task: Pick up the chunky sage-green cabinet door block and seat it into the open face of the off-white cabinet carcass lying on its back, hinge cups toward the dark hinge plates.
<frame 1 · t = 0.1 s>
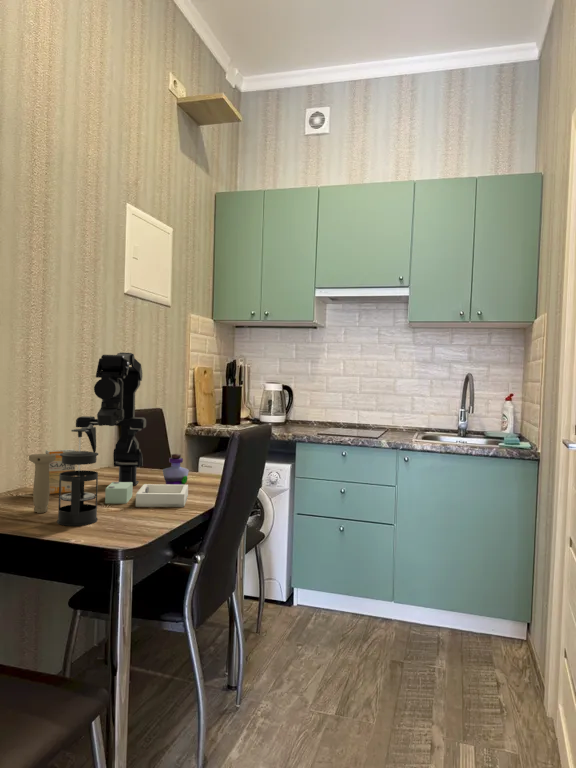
hand: (110, 452, 159), 14 cm above the table, tool pointing down, fingers open, 9 cm apart
french press: (77, 522, 137), on the table
cabinet carcass: (163, 501, 162), on the table
potion bottle: (175, 491, 178), on the table
supplement box: (59, 492, 171), on the table
door panel: (119, 500, 163), on the table
handle: (40, 512, 145), on the table
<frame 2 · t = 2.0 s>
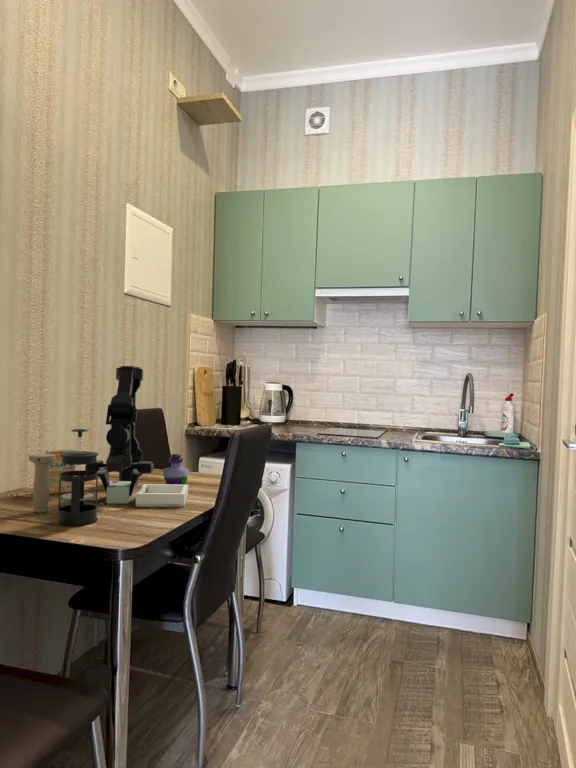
hand: (119, 496, 163), 1 cm above the table, tool pointing down, fingers closed on door panel, 6 cm apart
door panel: (119, 499, 163), on the table, touching gripper
everything else where it was.
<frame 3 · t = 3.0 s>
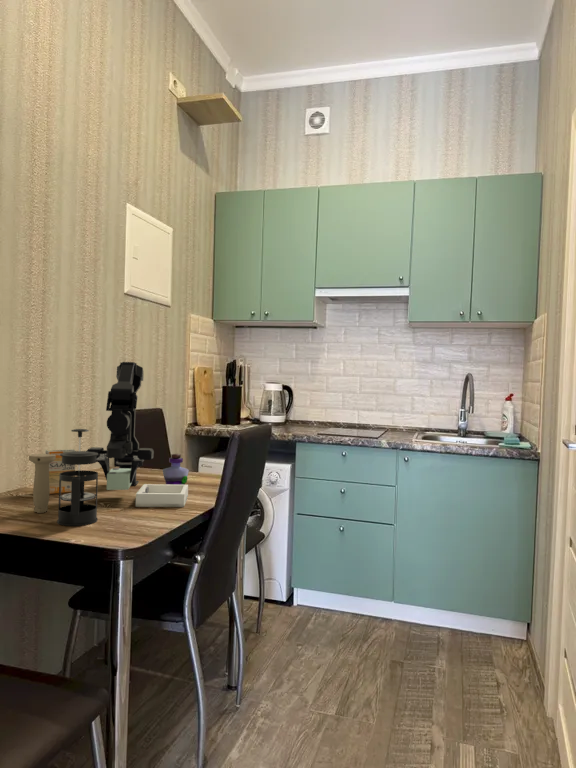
hand: (119, 482, 163), 5 cm above the table, tool pointing down, fingers closed on door panel, 6 cm apart
door panel: (119, 486, 163), point 4 cm above the table, touching gripper
everything else where it was.
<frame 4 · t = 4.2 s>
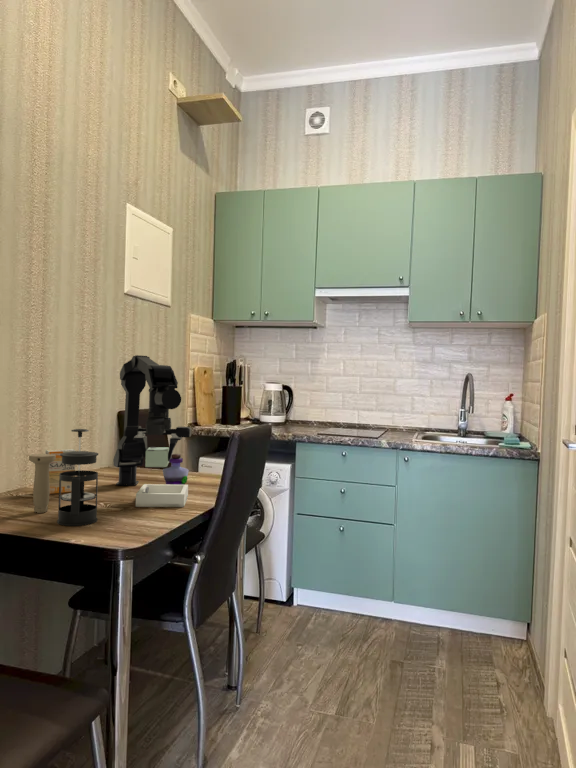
hand: (157, 461, 162), 12 cm above the table, tool pointing down, fingers closed on door panel, 6 cm apart
door panel: (157, 464, 162), point 11 cm above the table, touching gripper
everything else where it was.
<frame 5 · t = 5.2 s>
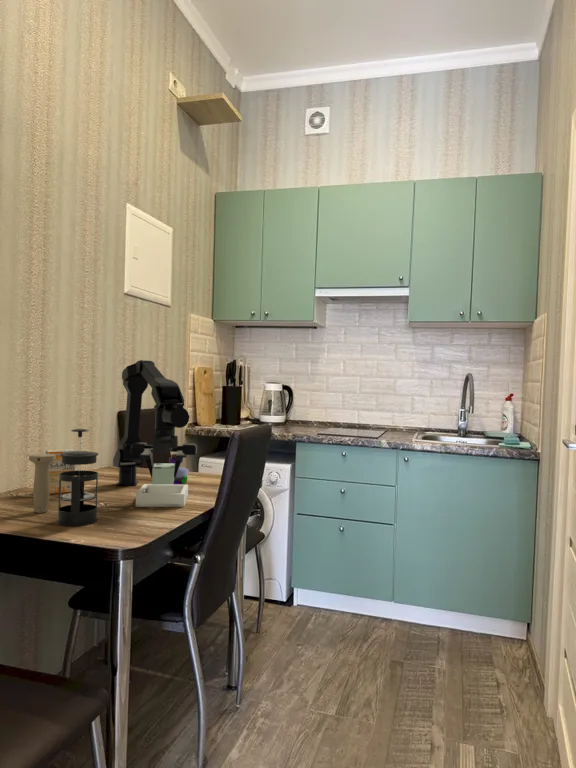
hand: (163, 477, 163), 7 cm above the table, tool pointing down, fingers closed on door panel, 6 cm apart
door panel: (163, 481, 162), point 6 cm above the table, touching gripper
everything else where it was.
when the fingers open (4 cm above the table, at t = 6.2 s): door panel drops 2 cm, resting on cabinet carcass.
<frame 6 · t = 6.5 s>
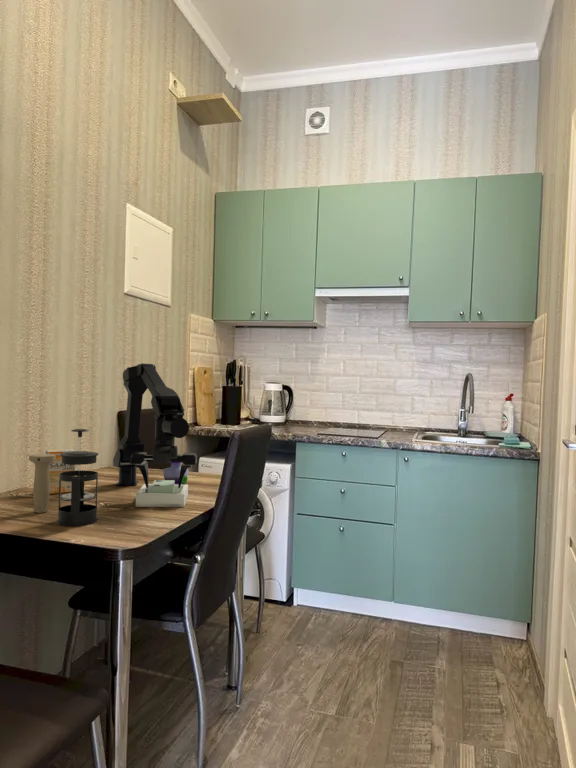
hand: (163, 487, 162), 4 cm above the table, tool pointing down, fingers open, 9 cm apart
door panel: (163, 498, 162), point 1 cm above the table, touching cabinet carcass
everything else where it was.
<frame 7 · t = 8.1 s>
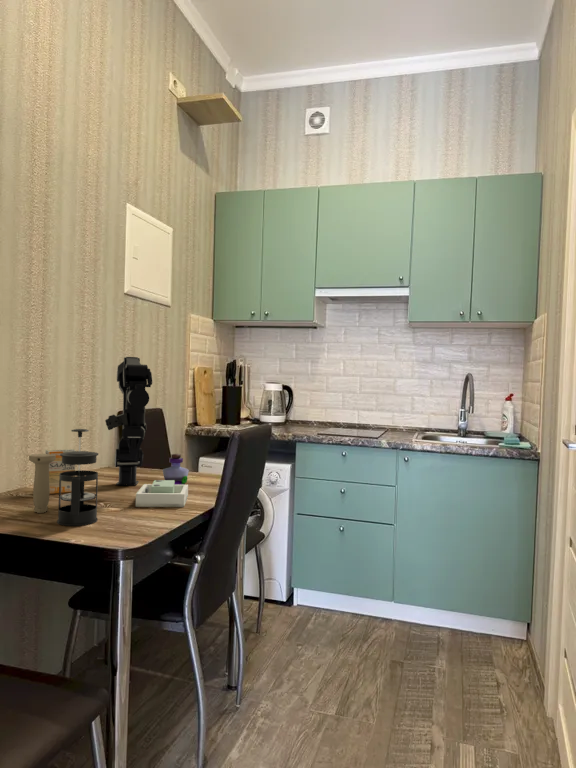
hand: (133, 457, 167), 12 cm above the table, tool pointing down, fingers open, 9 cm apart
nothing on the table moved.
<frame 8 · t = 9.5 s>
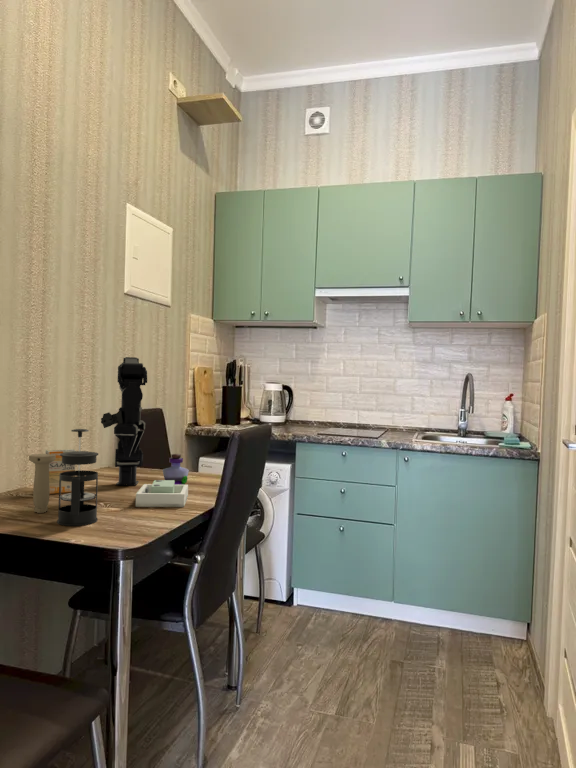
hand: (129, 455, 167), 13 cm above the table, tool pointing down, fingers open, 9 cm apart
nothing on the table moved.
at the end: door panel 0.0 cm off-centre on the cabinet carcass, point 0.8 cm above the cabinet carcass's base; door panel tilted 0°; the gripper is holding nothing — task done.
